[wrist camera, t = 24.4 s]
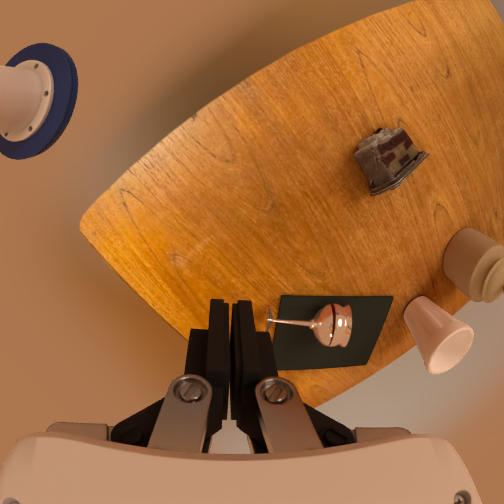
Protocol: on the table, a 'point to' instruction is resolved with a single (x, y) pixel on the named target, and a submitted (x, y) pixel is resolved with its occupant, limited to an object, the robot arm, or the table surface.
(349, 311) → the wineglass
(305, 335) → the mat
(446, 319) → the cup
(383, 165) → the checkered cake slice
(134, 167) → the table surface
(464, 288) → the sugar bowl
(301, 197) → the table surface
